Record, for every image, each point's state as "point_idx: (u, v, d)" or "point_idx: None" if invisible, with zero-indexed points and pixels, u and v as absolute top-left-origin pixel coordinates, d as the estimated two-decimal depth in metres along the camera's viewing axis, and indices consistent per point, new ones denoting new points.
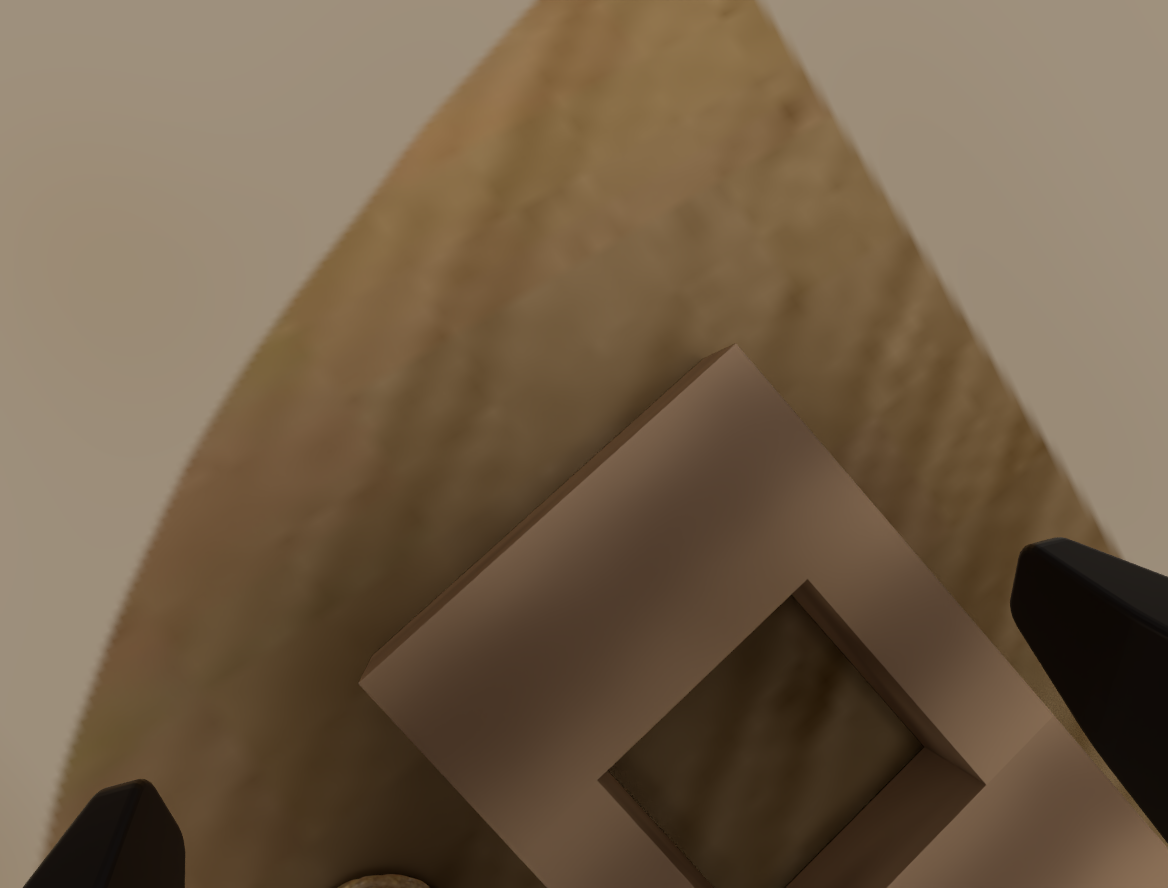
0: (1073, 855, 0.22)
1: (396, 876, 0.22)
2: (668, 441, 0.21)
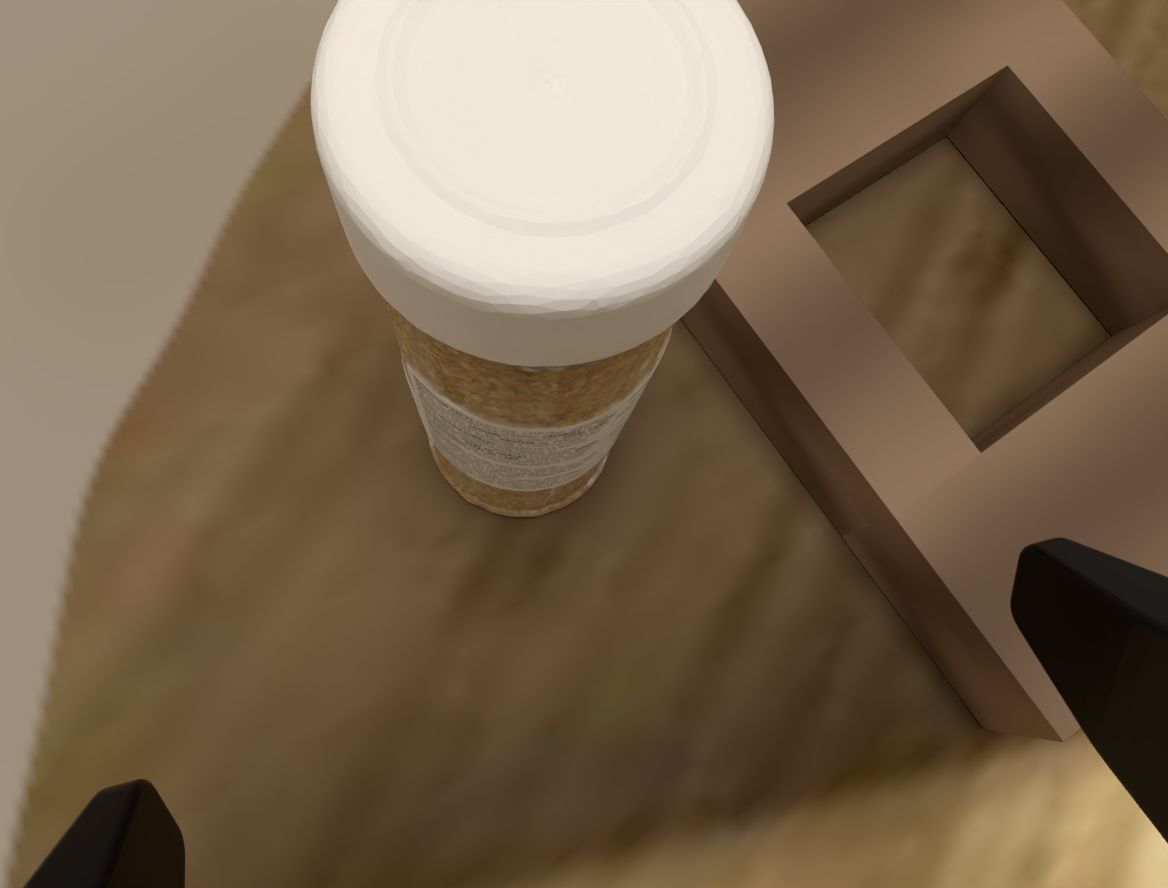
0: None
1: None
2: None
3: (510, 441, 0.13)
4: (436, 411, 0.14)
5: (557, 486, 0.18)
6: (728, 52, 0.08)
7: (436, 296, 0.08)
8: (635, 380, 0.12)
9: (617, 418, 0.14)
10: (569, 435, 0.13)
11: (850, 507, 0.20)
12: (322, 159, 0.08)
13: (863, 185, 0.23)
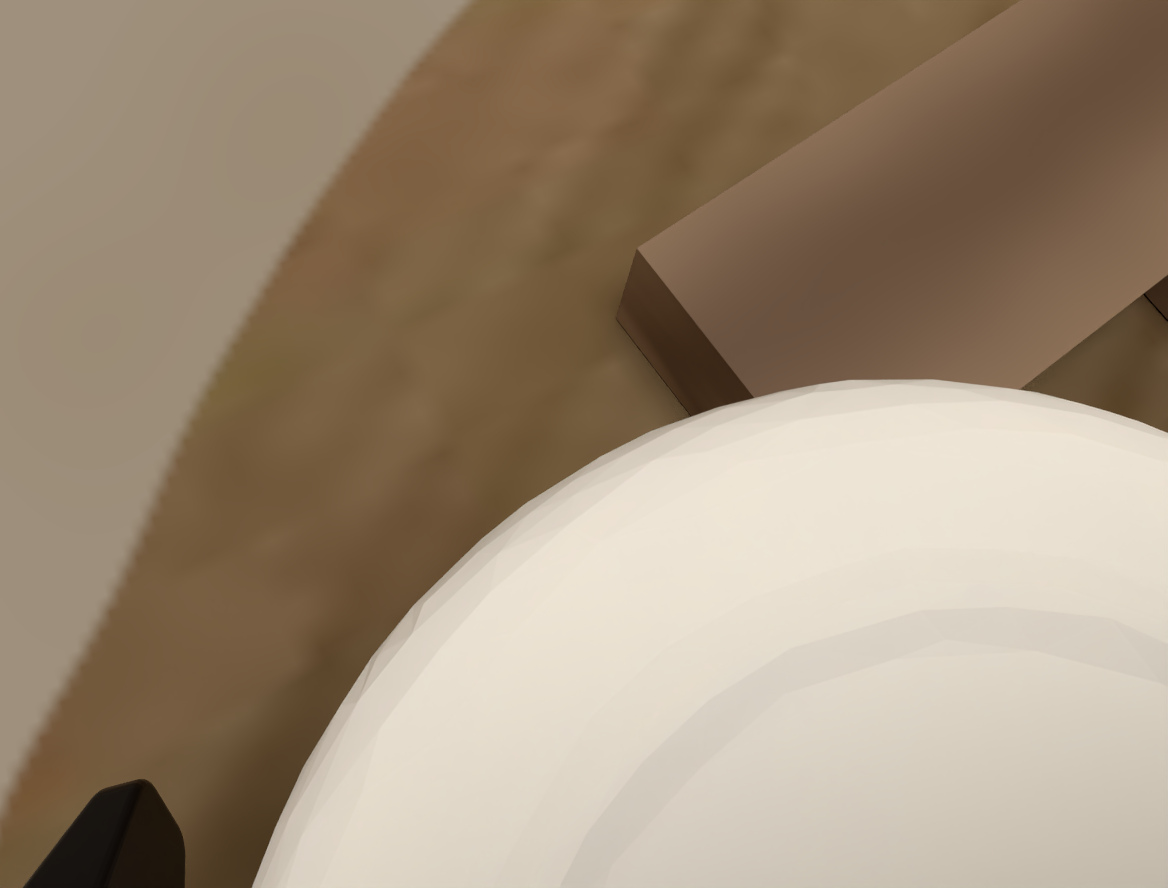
0: None
1: None
2: (1053, 21, 0.16)
3: None
4: None
5: None
6: None
7: None
8: None
9: None
10: None
11: None
12: None
13: None
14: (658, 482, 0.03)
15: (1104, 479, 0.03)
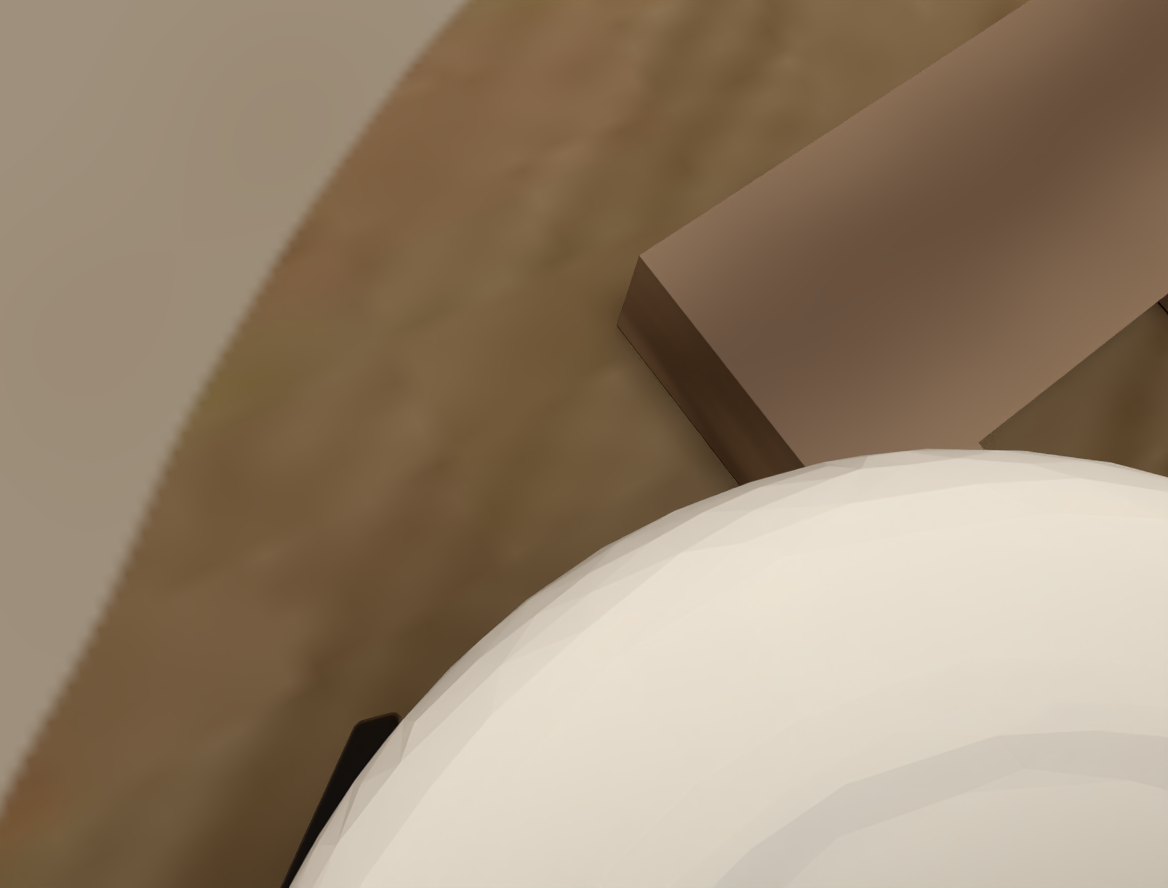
0: None
1: None
2: (1065, 20, 0.16)
3: None
4: None
5: None
6: None
7: None
8: None
9: None
10: None
11: None
12: None
13: None
14: (686, 582, 0.02)
15: None
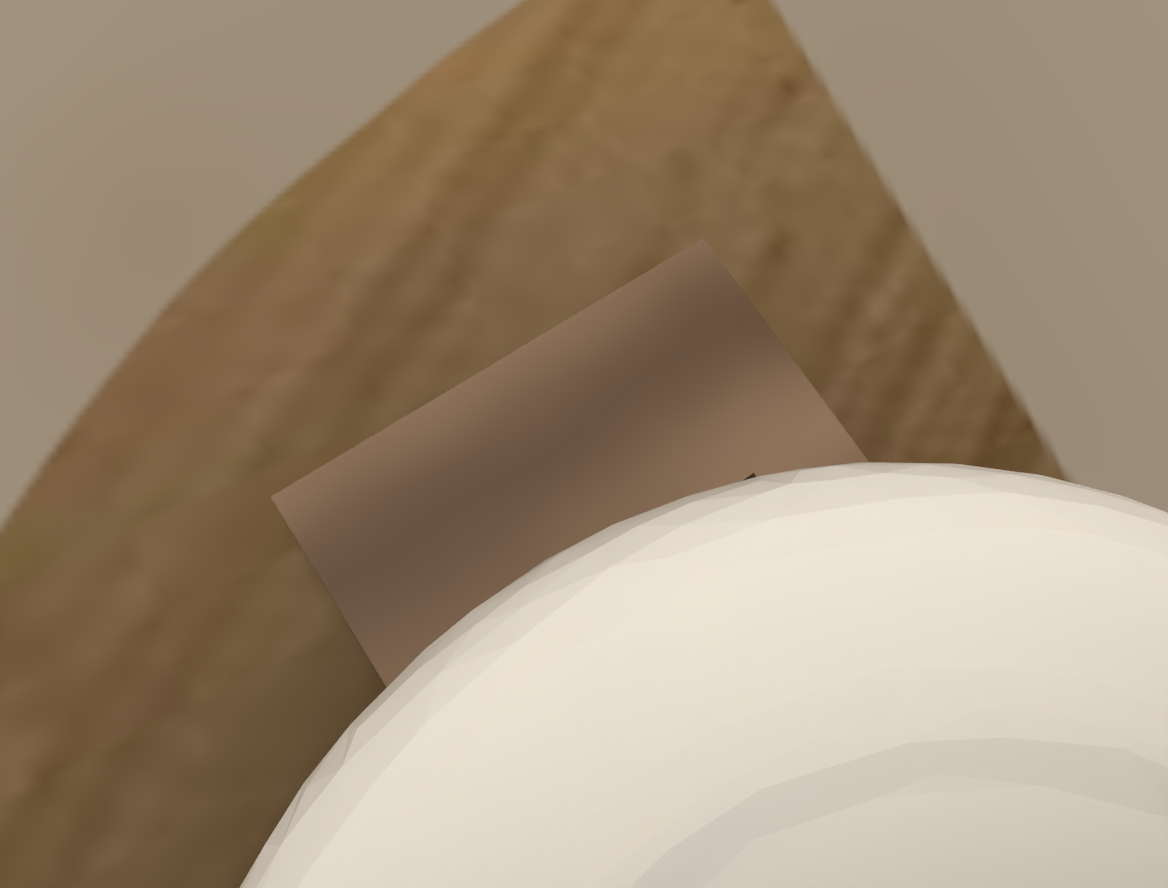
0: None
1: None
2: (625, 316, 0.21)
3: None
4: None
5: None
6: None
7: None
8: None
9: None
10: None
11: None
12: None
13: None
14: (615, 594, 0.02)
15: (1118, 583, 0.03)
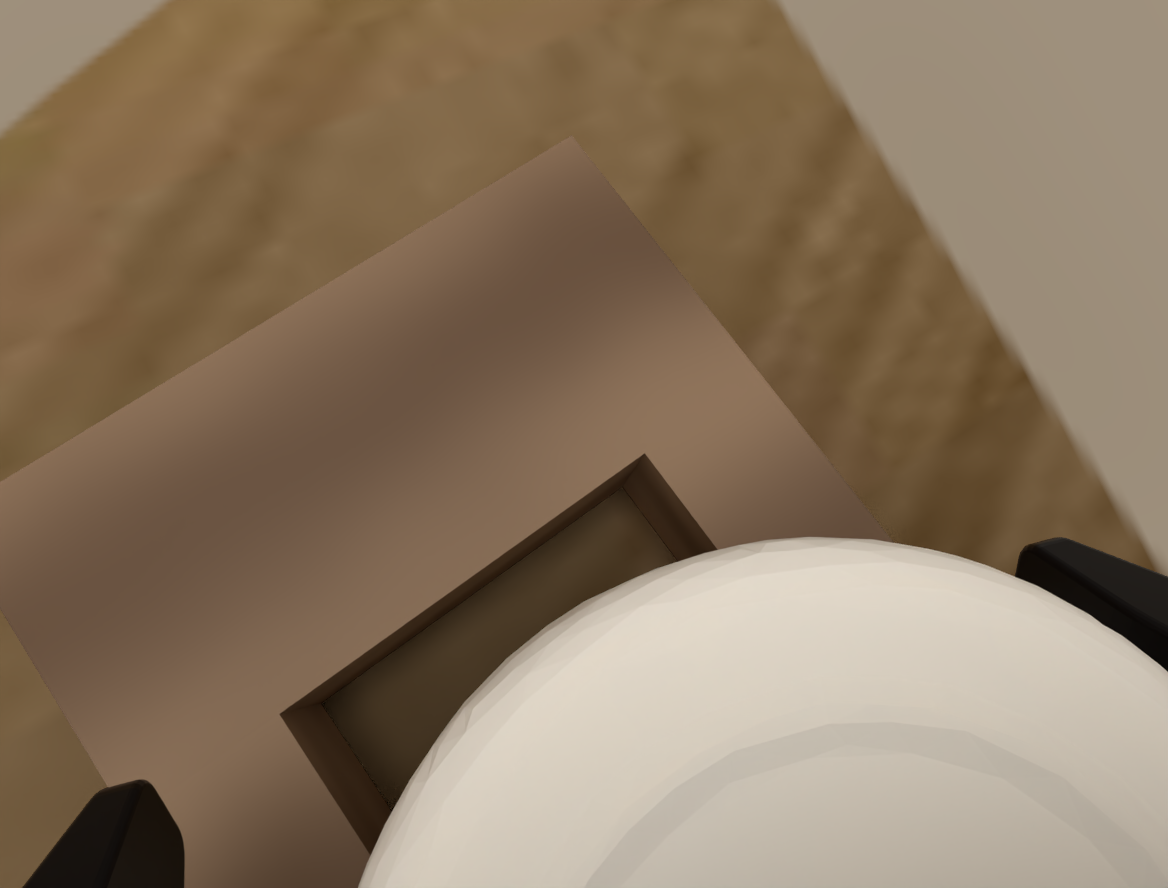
0: None
1: None
2: (462, 244, 0.15)
3: None
4: None
5: None
6: None
7: None
8: None
9: None
10: None
11: None
12: None
13: (487, 581, 0.17)
14: (643, 625, 0.04)
15: (970, 625, 0.04)
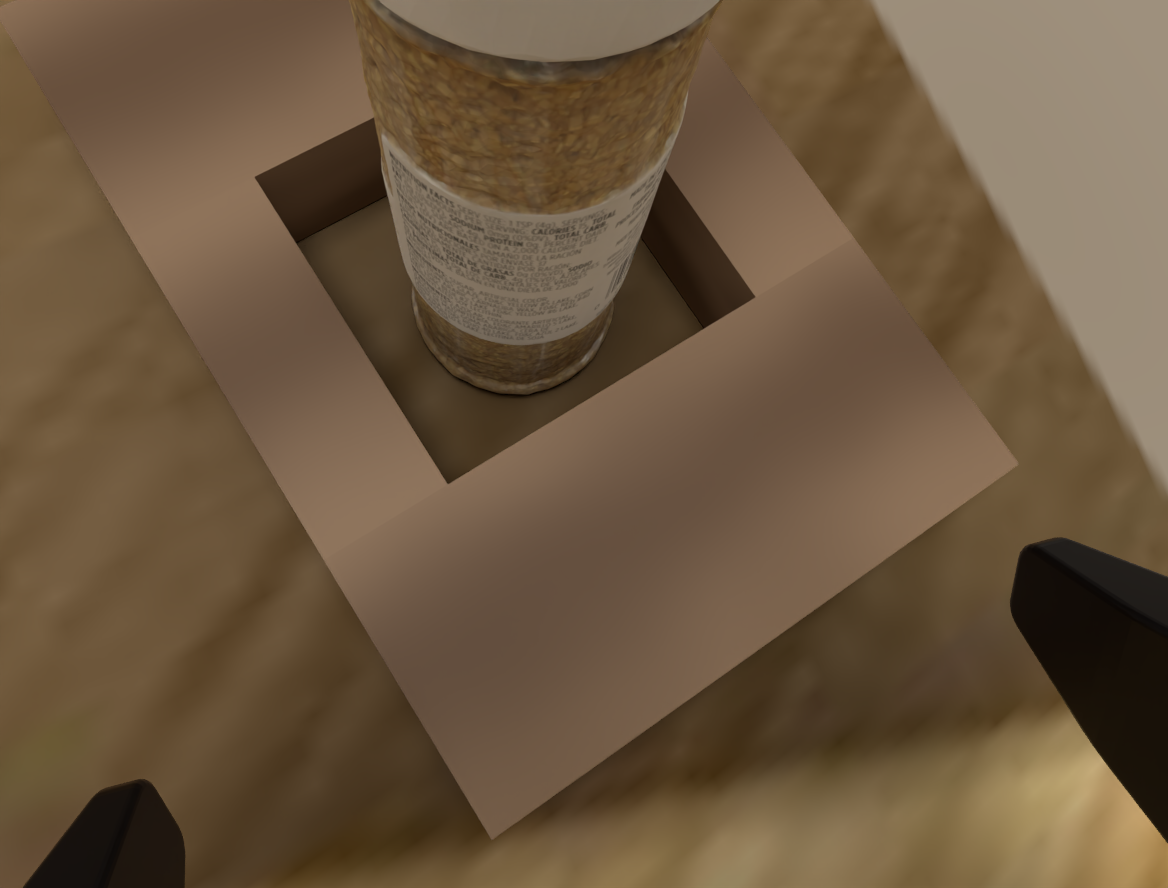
0: (864, 408, 0.17)
1: None
2: None
3: (495, 241, 0.12)
4: (415, 207, 0.12)
5: (548, 344, 0.16)
6: None
7: None
8: (639, 160, 0.11)
9: (616, 228, 0.12)
10: (562, 234, 0.12)
11: None
12: None
13: None
14: None
15: None
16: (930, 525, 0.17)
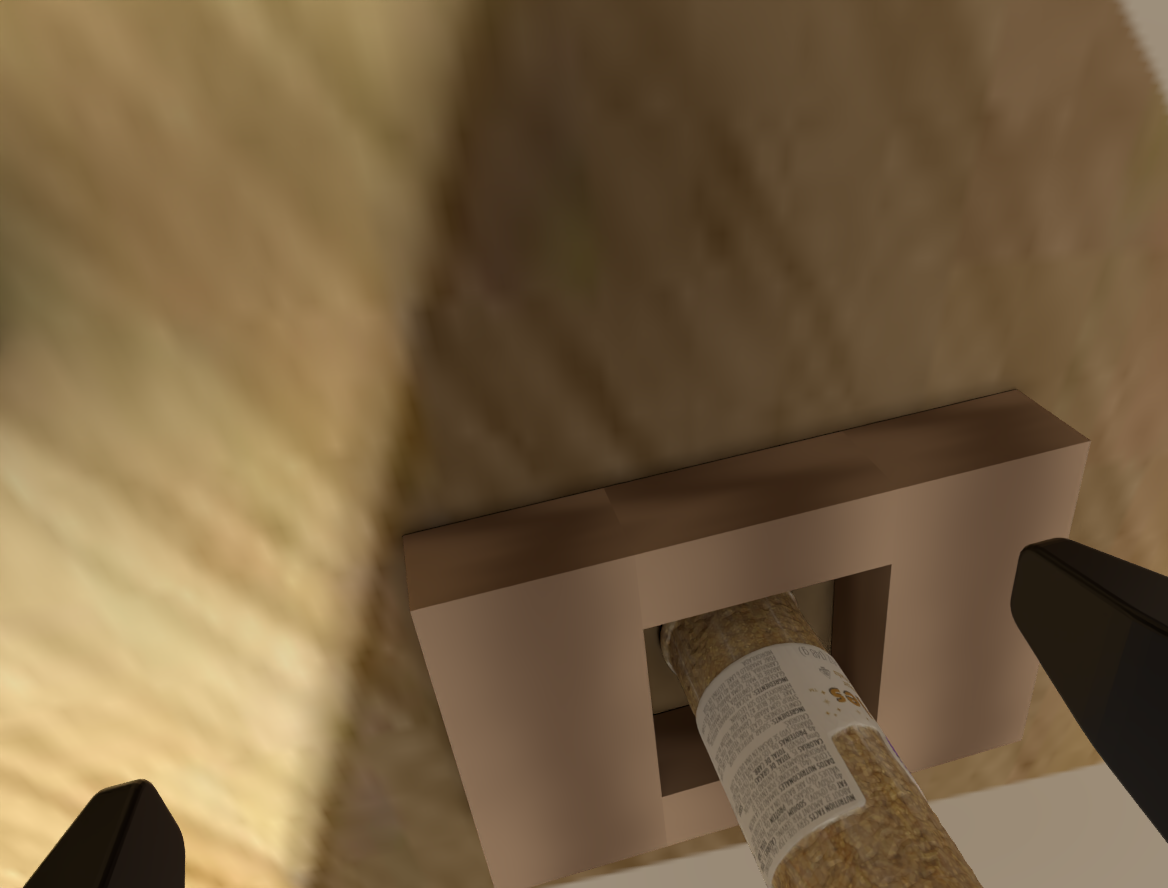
0: (568, 835, 0.26)
1: None
2: (1016, 686, 0.28)
3: (779, 810, 0.20)
4: (819, 770, 0.20)
5: (696, 697, 0.24)
6: None
7: None
8: None
9: (752, 851, 0.21)
10: (765, 846, 0.20)
11: (638, 513, 0.23)
12: None
13: (839, 602, 0.28)
14: None
15: None
16: (485, 853, 0.26)
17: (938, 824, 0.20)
